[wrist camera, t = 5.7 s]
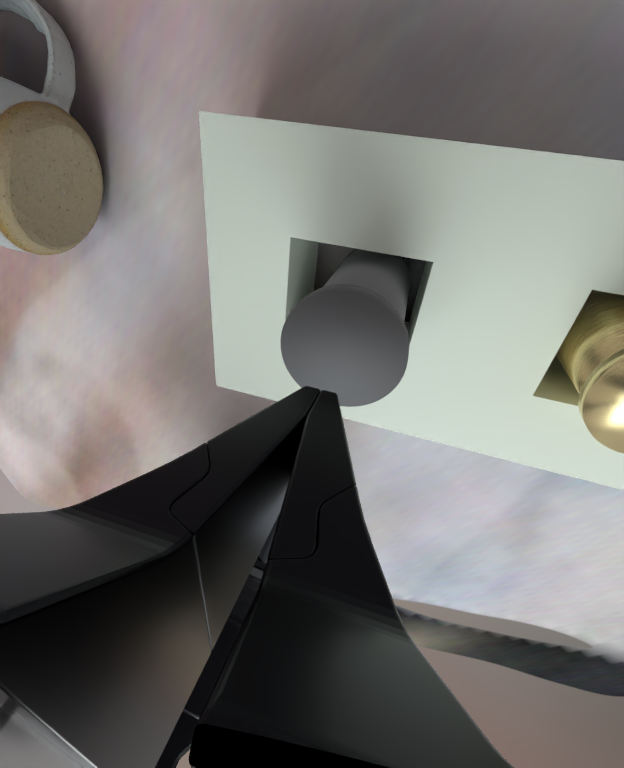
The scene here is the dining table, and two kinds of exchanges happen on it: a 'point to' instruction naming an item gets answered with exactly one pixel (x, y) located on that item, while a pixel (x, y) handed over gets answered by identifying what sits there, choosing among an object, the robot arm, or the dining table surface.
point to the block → (440, 276)
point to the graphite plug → (352, 330)
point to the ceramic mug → (45, 153)
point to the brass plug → (598, 366)
